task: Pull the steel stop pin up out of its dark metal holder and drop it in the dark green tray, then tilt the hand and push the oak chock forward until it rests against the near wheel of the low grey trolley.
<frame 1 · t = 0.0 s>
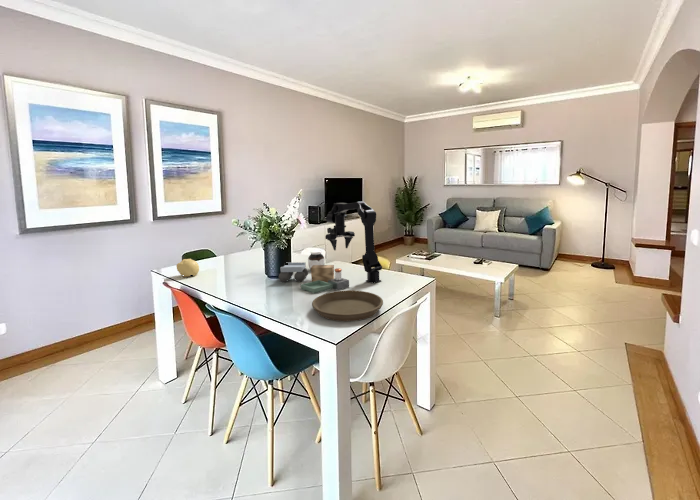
hand: (340, 249, 225), 15 cm above the table, tool pointing down, fingers open, 9 cm apart
chock: (323, 281, 209), on the table
holder: (338, 287, 197), on the table
spread jar: (316, 270, 237), on the table
trolley: (294, 279, 215), on the table
sculpture: (189, 276, 230), on the table
tray: (316, 288, 195), on the table
plant saucer: (347, 311, 163), on the table
pin: (338, 278, 196), in the holder
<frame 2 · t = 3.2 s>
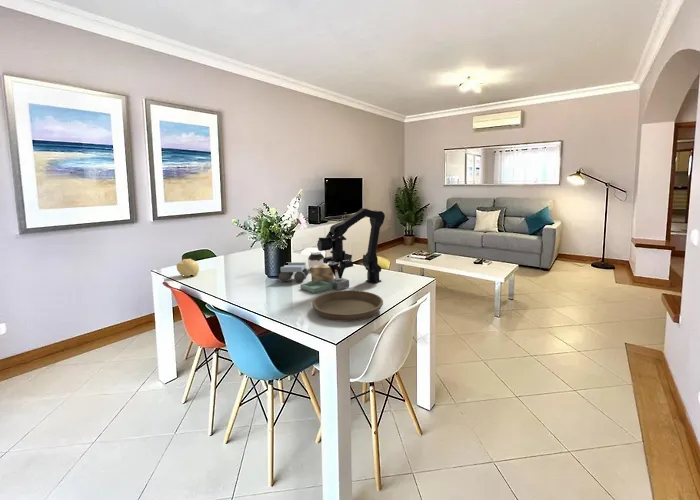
hand: (338, 277, 196), 5 cm above the table, tool pointing down, fingers closed on pin, 3 cm apart
pin: (338, 278, 196), in the holder, touching gripper
everything else where it was.
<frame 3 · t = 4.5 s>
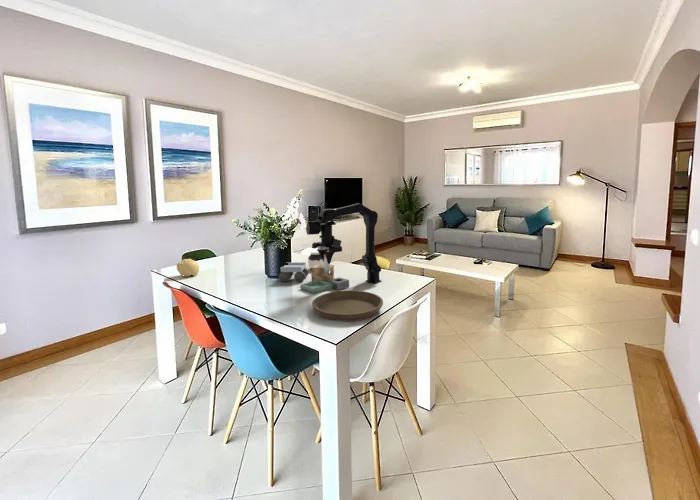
hand: (326, 263, 193), 14 cm above the table, tool pointing down, fingers closed on pin, 3 cm apart
pin: (326, 263, 193), point 13 cm above the table, touching gripper
everything else where it was.
when the fingers open (8 cm above the table, at t = 6.0 s): pin drops 2 cm, resting on tray.
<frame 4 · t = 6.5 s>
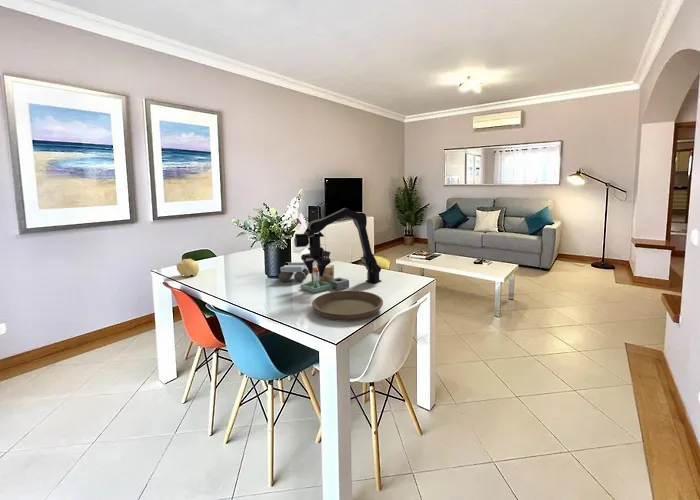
hand: (316, 274, 194), 8 cm above the table, tool pointing down, fingers open, 9 cm apart
pin: (316, 278, 194), in the tray, point 6 cm above the table
everything else where it was.
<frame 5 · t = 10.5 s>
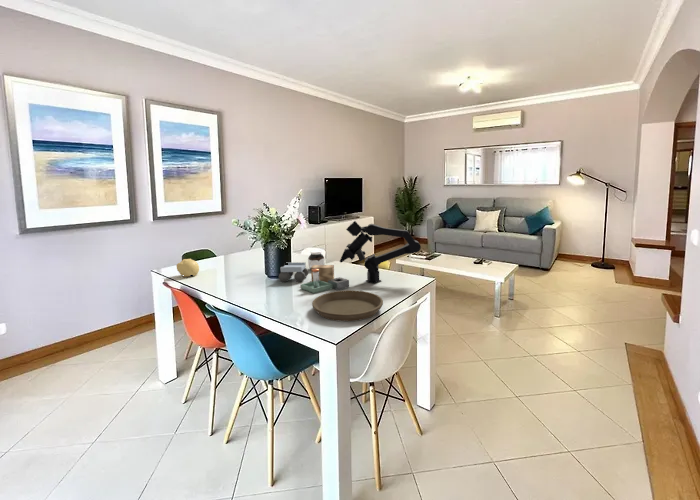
hand: (340, 262, 206), 11 cm above the table, tool tilted 45°, fingers closed
nothing on the table moved.
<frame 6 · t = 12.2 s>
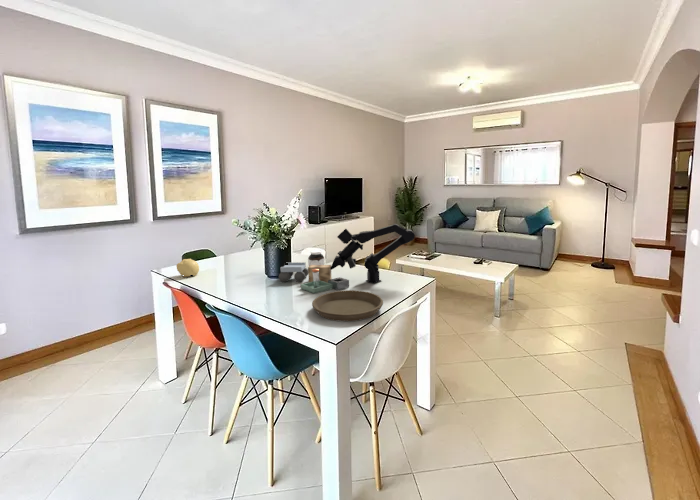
hand: (330, 269, 207), 7 cm above the table, tool tilted 45°, fingers closed, pressing on chock
chock: (320, 281, 209), on the table, touching gripper
everything else where it was.
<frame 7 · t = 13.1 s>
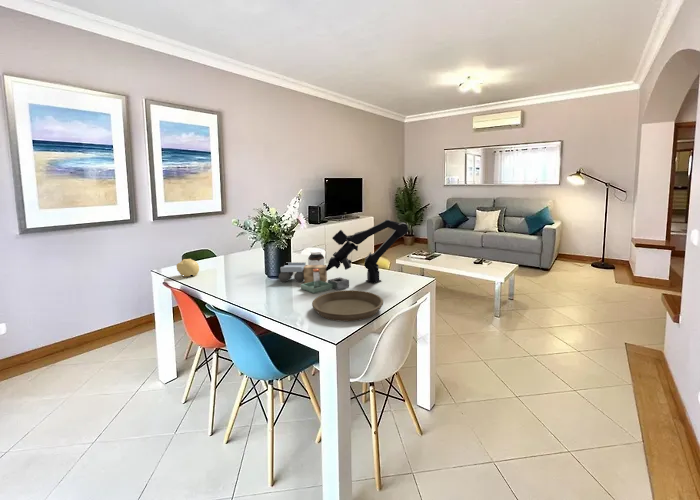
hand: (326, 270, 208), 7 cm above the table, tool tilted 45°, fingers closed, pressing on chock
chock: (315, 281, 209), on the table, touching gripper
everything else where it was.
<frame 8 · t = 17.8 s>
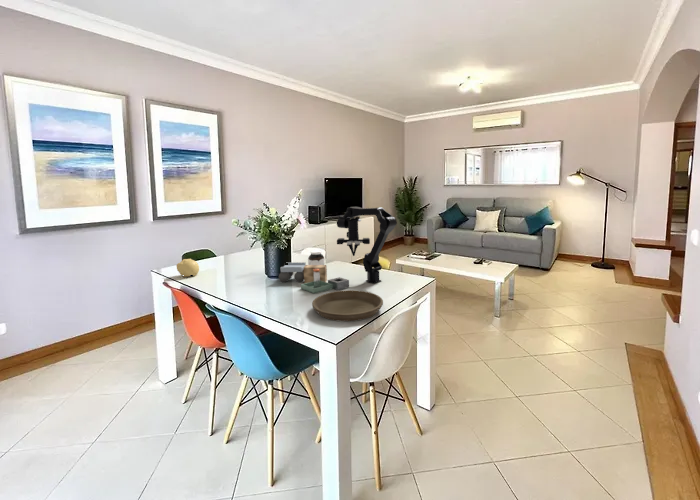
hand: (353, 255, 213), 13 cm above the table, tool pointing down, fingers closed
chock: (315, 281, 209), on the table
everything else where it was.
at the end: chock 0.2 cm from the target spot on the table beside the trolley, on the table; chock moved 4.3 cm from its start; pin inside the target area on the tray (0.0 cm from its centre), point 5.7 cm above the tray's base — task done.
